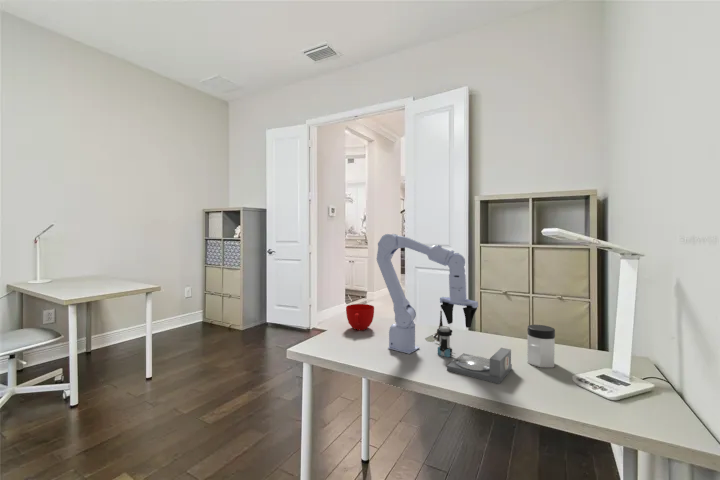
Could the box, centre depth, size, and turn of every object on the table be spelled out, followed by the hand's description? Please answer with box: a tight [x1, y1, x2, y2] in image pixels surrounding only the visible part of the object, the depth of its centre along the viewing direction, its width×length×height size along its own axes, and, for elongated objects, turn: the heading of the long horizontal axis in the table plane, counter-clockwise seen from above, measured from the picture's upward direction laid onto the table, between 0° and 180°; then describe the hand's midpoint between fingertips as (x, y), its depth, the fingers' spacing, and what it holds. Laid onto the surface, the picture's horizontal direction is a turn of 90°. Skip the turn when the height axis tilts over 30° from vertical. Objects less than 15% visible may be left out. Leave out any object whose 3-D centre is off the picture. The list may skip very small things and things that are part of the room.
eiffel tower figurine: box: [424, 310, 444, 346], centre depth 140 cm, size 15×10×13 cm
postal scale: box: [446, 347, 513, 385], centre depth 108 cm, size 16×14×6 cm
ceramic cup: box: [345, 303, 375, 331], centre depth 153 cm, size 13×17×10 cm
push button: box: [436, 325, 456, 358], centre depth 120 cm, size 7×5×10 cm
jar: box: [526, 324, 556, 369], centre depth 113 cm, size 9×8×12 cm
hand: (459, 325), depth 121 cm, fingers open, 7 cm apart
